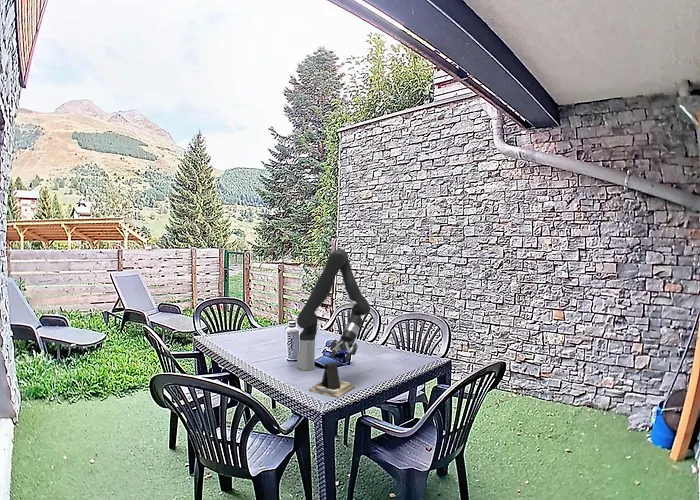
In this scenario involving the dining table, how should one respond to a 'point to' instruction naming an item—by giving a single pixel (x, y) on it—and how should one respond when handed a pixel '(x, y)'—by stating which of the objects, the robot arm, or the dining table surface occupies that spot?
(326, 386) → the black tent sign
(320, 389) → the spacer board
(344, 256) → the robot arm
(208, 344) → the dining table surface
